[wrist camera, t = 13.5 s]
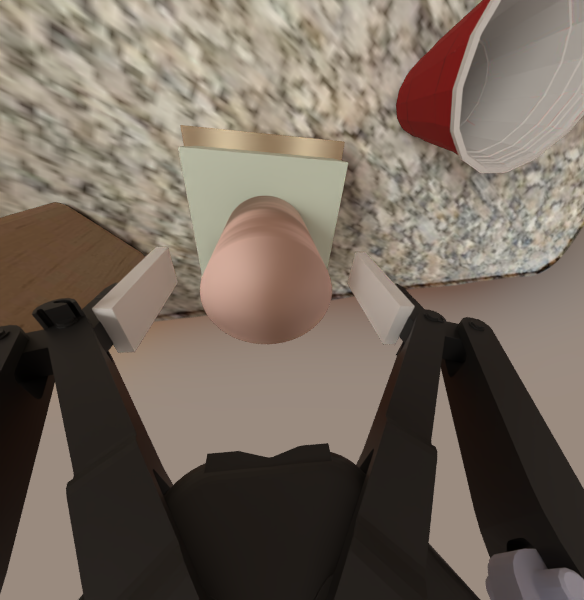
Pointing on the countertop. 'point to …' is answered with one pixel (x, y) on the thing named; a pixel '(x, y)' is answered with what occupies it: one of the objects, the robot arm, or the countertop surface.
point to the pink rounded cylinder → (265, 275)
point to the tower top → (260, 190)
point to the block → (56, 261)
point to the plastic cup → (500, 83)
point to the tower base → (261, 142)
